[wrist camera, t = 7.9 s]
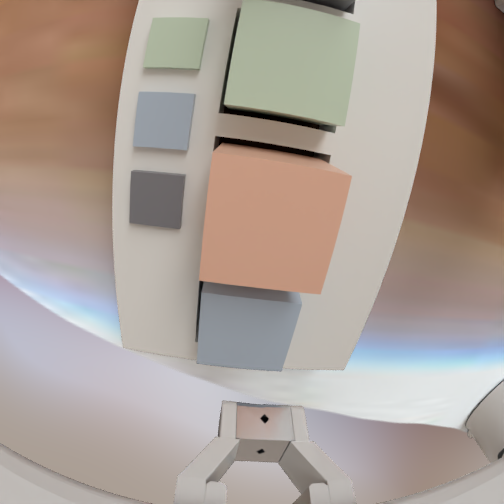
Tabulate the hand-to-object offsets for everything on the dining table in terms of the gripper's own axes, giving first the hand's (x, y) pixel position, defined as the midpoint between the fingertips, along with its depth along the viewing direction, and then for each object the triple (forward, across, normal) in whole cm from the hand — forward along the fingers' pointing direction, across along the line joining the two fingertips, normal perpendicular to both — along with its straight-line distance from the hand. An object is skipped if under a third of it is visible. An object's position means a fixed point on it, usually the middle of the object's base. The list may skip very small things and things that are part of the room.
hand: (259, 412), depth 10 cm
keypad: (+9, -1, +9) cm, 13 cm away
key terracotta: (+7, -1, +6) cm, 9 cm away
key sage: (+8, -1, +12) cm, 15 cm away
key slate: (+9, -1, 0) cm, 9 cm away
